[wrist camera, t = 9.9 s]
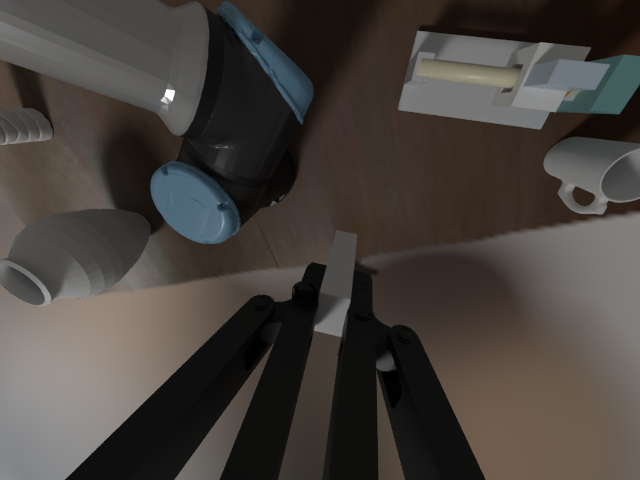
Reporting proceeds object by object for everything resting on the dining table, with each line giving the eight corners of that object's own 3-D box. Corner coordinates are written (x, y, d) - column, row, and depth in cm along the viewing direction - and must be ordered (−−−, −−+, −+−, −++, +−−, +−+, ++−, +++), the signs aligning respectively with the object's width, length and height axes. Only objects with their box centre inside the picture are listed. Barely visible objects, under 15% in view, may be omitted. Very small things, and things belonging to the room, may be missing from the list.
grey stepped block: (489, 105, 34) (532, 106, 25) (512, 52, 31) (570, 31, 22) (527, 110, 33) (584, 113, 24) (553, 57, 30) (630, 37, 21)
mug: (554, 132, 38) (623, 143, 28) (602, 136, 37) (692, 148, 27) (524, 193, 43) (572, 222, 33) (566, 197, 42) (629, 228, 32)
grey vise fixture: (397, 109, 40) (406, 111, 30) (416, 32, 35) (435, 2, 25) (539, 129, 38) (603, 138, 28) (582, 50, 33) (679, 25, 23)
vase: (95, 188, 60) (-58, 234, 38) (158, 195, 57) (32, 249, 36) (121, 248, 69) (9, 312, 47) (177, 256, 66) (85, 329, 45)
